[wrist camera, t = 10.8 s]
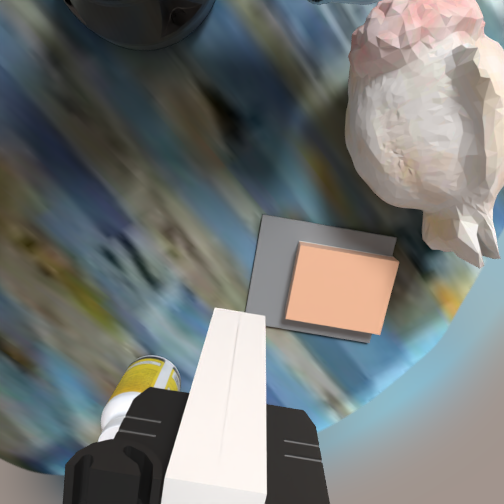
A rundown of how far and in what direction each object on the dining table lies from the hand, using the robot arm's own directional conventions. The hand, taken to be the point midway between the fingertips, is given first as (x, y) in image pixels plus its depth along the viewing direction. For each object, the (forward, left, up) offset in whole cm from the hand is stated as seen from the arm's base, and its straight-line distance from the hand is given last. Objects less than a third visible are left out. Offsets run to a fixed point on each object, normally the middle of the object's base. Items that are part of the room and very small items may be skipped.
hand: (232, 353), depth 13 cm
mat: (+8, -7, -32) cm, 34 cm away
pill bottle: (-8, -22, -33) cm, 40 cm away
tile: (+5, -7, -31) cm, 32 cm away
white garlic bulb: (+12, +9, -33) cm, 36 cm away
